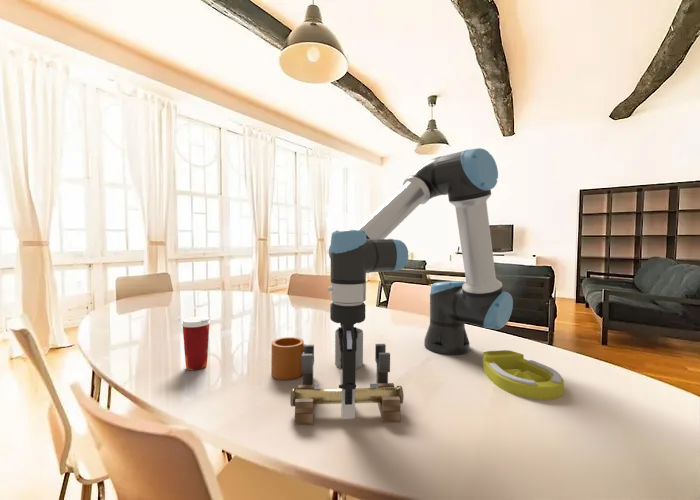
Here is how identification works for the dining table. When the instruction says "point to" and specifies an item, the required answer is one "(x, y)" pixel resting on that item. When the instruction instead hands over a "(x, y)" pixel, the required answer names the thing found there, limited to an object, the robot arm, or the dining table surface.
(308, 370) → the post
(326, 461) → the dining table surface
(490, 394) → the dining table surface
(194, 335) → the paper cup
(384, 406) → the rest
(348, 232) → the robot arm
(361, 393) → the rail
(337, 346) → the cup
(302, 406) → the rest
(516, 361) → the ashtray
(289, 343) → the mug
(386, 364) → the post
